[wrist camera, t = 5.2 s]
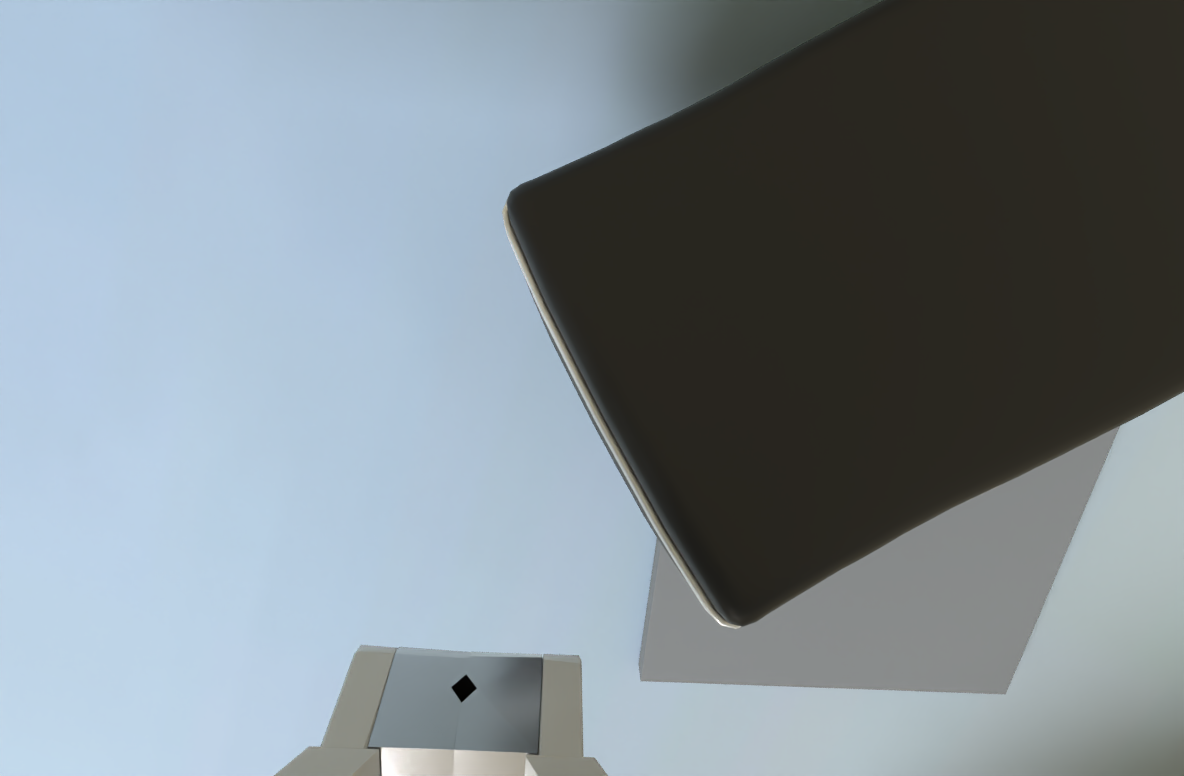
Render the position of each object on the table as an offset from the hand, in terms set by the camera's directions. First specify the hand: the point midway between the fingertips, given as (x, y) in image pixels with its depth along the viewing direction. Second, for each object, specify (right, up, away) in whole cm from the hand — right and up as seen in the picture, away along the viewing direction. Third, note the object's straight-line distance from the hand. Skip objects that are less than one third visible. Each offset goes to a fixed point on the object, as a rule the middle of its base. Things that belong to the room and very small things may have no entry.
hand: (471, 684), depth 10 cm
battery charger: (+2, +3, +1) cm, 4 cm away
